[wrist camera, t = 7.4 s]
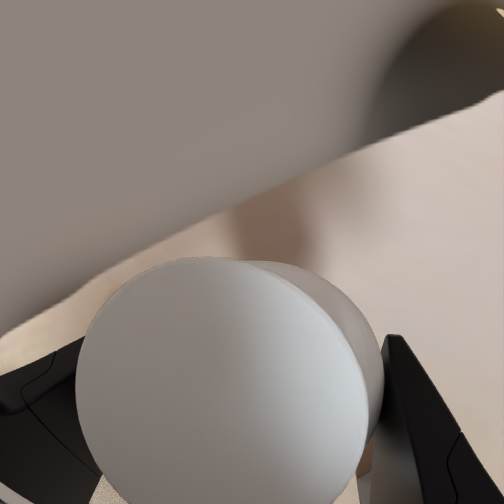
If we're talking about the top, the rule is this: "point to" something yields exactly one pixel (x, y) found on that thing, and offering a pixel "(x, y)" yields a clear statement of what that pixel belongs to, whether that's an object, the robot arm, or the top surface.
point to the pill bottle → (229, 385)
